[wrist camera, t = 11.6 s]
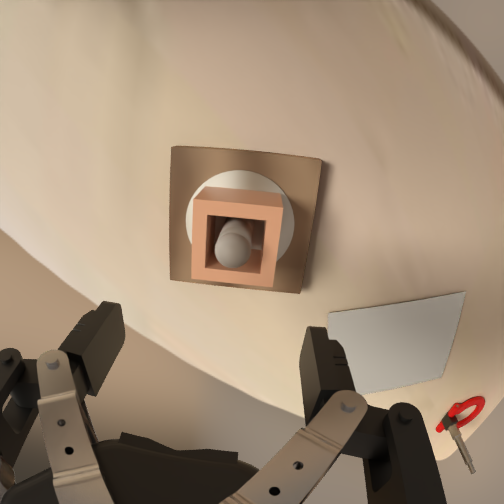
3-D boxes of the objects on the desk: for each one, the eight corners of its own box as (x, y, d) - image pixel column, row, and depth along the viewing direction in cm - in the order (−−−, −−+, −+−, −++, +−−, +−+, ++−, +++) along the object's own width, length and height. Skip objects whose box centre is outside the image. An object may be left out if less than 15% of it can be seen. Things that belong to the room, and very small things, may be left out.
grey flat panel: (323, 220, 27) (325, 222, 27) (522, 205, 25) (525, 207, 24) (325, 396, 36) (325, 400, 36) (483, 360, 34) (485, 363, 33)
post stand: (174, 272, 30) (147, 321, 22) (176, 145, 25) (139, 156, 17) (298, 285, 30) (308, 340, 22) (318, 158, 25) (341, 174, 17)
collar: (202, 254, 27) (191, 278, 23) (205, 186, 24) (193, 199, 20) (271, 261, 27) (272, 287, 23) (280, 193, 24) (283, 207, 20)
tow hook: (490, 391, 37) (455, 399, 37) (520, 443, 26) (486, 459, 25) (466, 421, 41) (431, 430, 40) (491, 471, 29) (454, 487, 29)
